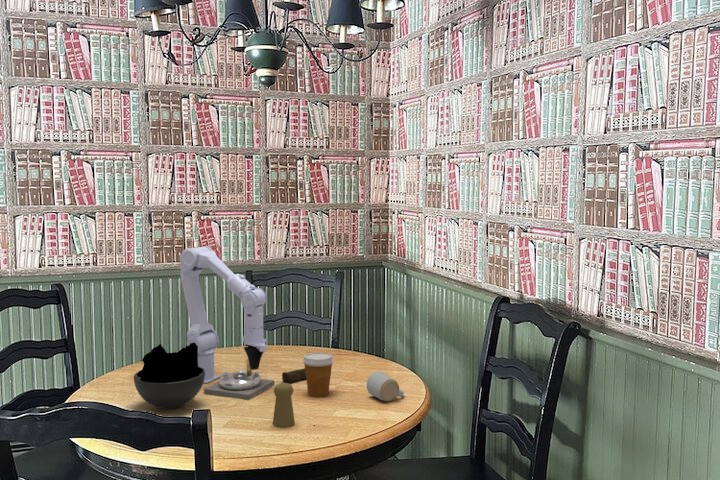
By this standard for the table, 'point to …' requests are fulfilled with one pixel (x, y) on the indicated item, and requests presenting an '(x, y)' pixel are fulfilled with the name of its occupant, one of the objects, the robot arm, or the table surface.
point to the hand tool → (293, 375)
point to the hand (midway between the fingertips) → (254, 369)
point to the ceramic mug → (383, 386)
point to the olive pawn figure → (283, 406)
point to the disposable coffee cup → (318, 373)
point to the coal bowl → (170, 377)
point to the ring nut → (240, 379)
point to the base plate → (240, 394)
